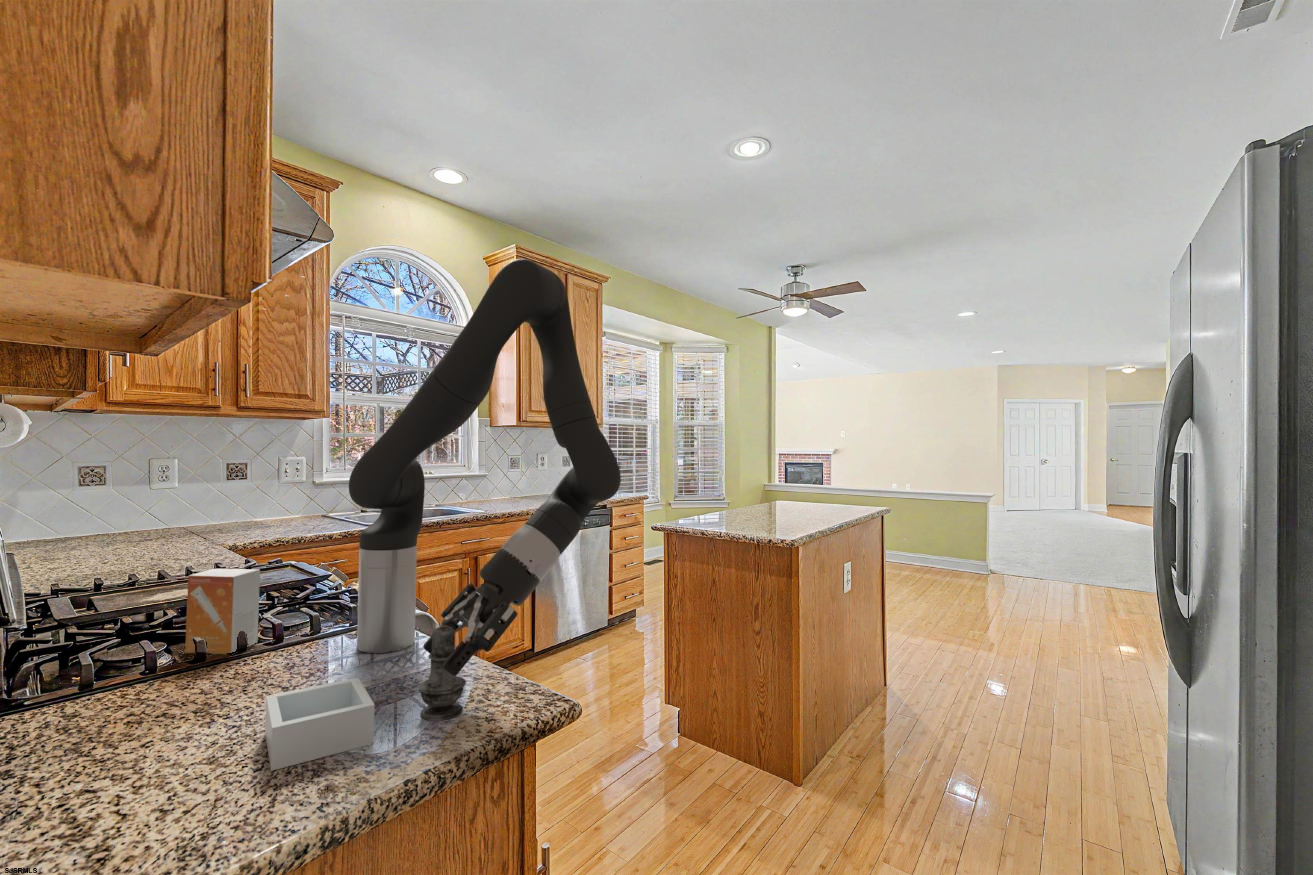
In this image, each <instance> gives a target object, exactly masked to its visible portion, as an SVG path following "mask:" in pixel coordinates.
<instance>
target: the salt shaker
mask: <svg viewBox="0 0 1313 875" xmlns="http://www.w3.org/2000/svg"><path fill="white" fill-rule="evenodd" d="M442 620H443V619H442ZM442 620H441V622H440V624H441V625H442V626H441V625H440V626H439V627H436V628H435V629H434V630H433V631H432V633H431V636H432V653H431V654H430V653H429V655H428V656H427V657H428V659H429V660H430V672H429V677H428V679H426V680H423V681H422V682H421V683H420V684H419V685H418V691H419V692H420V696H421V699H422V701H423V702H424V704H426V705H427V706H426V707H424V708H423V709H421V711H420V713H419V714H420V715H419V716H420V718H422V719H423V720H425V721H430V722H431V721H432V722H438V721H439V722H440V721H441V722H442V721H447V720H450V719H453V718H456V717H458V716H459V715H460V714H462V713H463V711H464V707H463V705H462V704H460V703H458V700H459V699H460V698H461V697H462V694H463V692H464V687H465V686H466V684H467V681H466V679H465V678H463V677H461V676H458V675H455V676H453V675H451V674H450V673H449V672H448V671H446V670H445V669H444V668H443V666H442V664H443V662H444V661H445V660H446V659H447V658H448V656H449V655H450V654H451V653H452V652H453V651H454V649H455V648H456V645H455V643H456V633H455V631H454V629H453V628H451V627H449V626H447V625H446V623H447V622H446V621H445V620H443V621H442Z"/></svg>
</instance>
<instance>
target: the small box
mask: <svg viewBox="0 0 1313 875" xmlns="http://www.w3.org/2000/svg"><path fill="white" fill-rule="evenodd" d="M260 575H261V569H259V568H257V569H256V568H255V569H249V568H248V569H246V568H213V569H208V570H204V571H199V572H196V573H193V574H190V575H188V576H187V577H188V579H187V596H186V598H187V601H186V602H187V603H186V622H185V623H186V624H185V649H184V650H185V651H184V652H185V653H186V654H196V653H195V644H194V642H193V637H200V638H201V639H204V640H205V641H206V642H207V647H208V651H209V653H210V655H214V654H215V655H227V654H226V653H232V652H235V651H236V649H237V637H238V634H239V632H240V631H244V632H245V633H246V634H247V638H248V644H249V645H250V646H249V647H251V645H252V646H254V645H255V643H256V644H257V643H258V639H259V637H258V636H259V613H260V612H259V610H260V609H259V604H260V582H261V581H260V578H261V576H260ZM209 653H208V654H209Z"/></svg>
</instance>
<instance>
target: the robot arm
mask: <svg viewBox="0 0 1313 875" xmlns="http://www.w3.org/2000/svg"><path fill="white" fill-rule="evenodd" d="M567 293H568V292H567V289H566V286H565V283H564V282H563V280H562V279H561V278H560V276H558V274H556V273H555V272H553V271H551V270H550V269H548V268H547V267H544V266H542V265H541V264H539V263H537V262H535V261H532V260H531V259H526V258H517V259H513V260H512V261H509V262H507V264H505V265H504V266H502V267H501V268H500V270H499V271H498V272H497V273H496V275H495V277H494V278H492V281H491V283H490V285H489V286H488V288H487V289H486V291H485V293H484V295H483V296H482V298H481V299H480V302H479V303H478V305H477V307H476V308H475V310H474V312H473V314H472V315H471V317H470V318H469V320H468V321H467V323H466V324H465V326H464V327H463V329H462V330H461V331H460V333H459V334H458V335H457V337H456V338H455V340H454V341H453V342H452V344H451V345H450V347H449V349H448V350H447V351H446V353H445V354H444V355H443V357H442V358H441V359H440V360H439V362H438V363H436V365H435V366H434V367H433V369H432V370H431V372H430V373H429V375H428V376H427V377H426V379H424V381H423V382H422V384H421V385H420V387H419V389H418V390H417V391H416V393H415V394H414V395H413V397H412V398H411V400H410V401H409V402H408V403H407V404H406V406H405V407H404V408H403V410H402V411H401V412H400V414H399V415H398V416H397V417H396V418H395V420H394V421H393V422H392V424H391V425H390V427H388V429H387V430H386V431H385V432H384V433H383V434H382V435H381V436H380V437H379V438H378V439H377V440H376V442H375V443H374V444H373V445H372V446H371V447H370V448H369V449H368V450H367V451H366V452H365V453H364V454H363V455H362V456H361V458H360V459H359V460H358V461H357V463H356V464H355V465H354V467H353V469H352V471H351V474H350V476H349V481H348V492H349V497H350V498H351V500H352V501H353V503H355V504H356V505H357V506H359V507H362V508H364V509H372V510H373V509H375V510H377V509H380V514H379V516H378V518H376V520H375V521H374V522H373V523H372V524H370V525H369V526H367V527H366V528H365V529H363V530H362V531H361V532H360V534H359V545H358V546H359V547H358V549H359V550H358V586H357V588H358V590H357V594H358V595H357V625H356V626H357V627H356V649H357V650H358V651H360V652H362V653H367V654H368V653H369V654H382V653H384V654H385V653H391V652H390V651H392V652H396V650H397V651H399V649H400V650H404V649H407V648H409V647H410V645H411V646H413V645H414V644H415V638H416V637H415V636H416V610H417V609H416V606H417V605H416V600H417V597H416V596H417V564H418V563H417V561H418V560H417V558H418V557H417V554H418V553H417V550H418V545H417V544H418V536H419V534H420V531H421V528H422V525H423V515H424V504H425V502H424V501H425V490H426V488H425V487H426V486H425V484H426V483H425V482H426V481H425V480H426V479H425V473H424V471H423V468H422V465H421V464H420V462H419V461H418V460H417V458H418V457H419V456H420V455H421V454H422V453H423V452H425V451H426V450H427V449H429V448H431V447H432V446H433V445H435V444H437V443H438V442H440V441H442V440H443V439H445V438H446V437H448V436H449V435H450V434H452V433H454V432H455V431H456V430H458V429H459V428H460V427H462V426H463V425H464V424H465V423H466V422H467V421H468V420H469V419H470V417H472V415H473V414H474V412H475V411H476V410H477V409H478V407H479V406H480V405H481V403H482V402H483V401H484V399H485V398H486V396H488V393H489V392H490V389H491V387H492V384H493V380H494V376H495V369H496V365H497V362H498V359H499V356H500V354H501V352H502V351H503V348H504V346H505V345H506V344H507V342H508V341H509V340H510V339H511V337H512V336H513V335H514V333H515V332H516V331H517V330H518V329H519V328H520V327H521V326H522V325H523V324H524V323H527V324H529V326H530V328H531V330H532V332H533V334H534V336H535V338H536V340H537V343H538V346H539V350H540V354H541V360H542V392H543V399H544V404H545V410H546V412H547V416H548V420H549V422H550V426H551V428H552V432H553V435H554V438H555V440H556V442H557V444H558V445H559V446H560V447H561V448H563V449H565V450H566V452H567V454H568V457H569V459H570V462H571V464H572V466H573V467H571V469H570V470H569V471H568V472H567V473H566V474H565V475H564V477H563V478H562V479H561V480H560V482H558V484H557V485H556V487H555V488H554V490H552V492H551V494H550V495H549V497H548V498H547V499H546V500H545V501H544V502H543V504H540V506H539V507H538V508H537V509H536V510H535V512H534V513H532V515H531V516H530V517H529V518H528V519H527V521H525V523H524V524H523V525H522V526H521V527H519V529H517V530H516V531H514V533H513V534H512V535H511V536H510V537H509V538H508V539H507V540H506V541H505V543H504V544H502V545H501V546H500V548H499V549H498V550H497V551H496V552H495V553H494V554H493V555H492V557H491V558H490V559H489V560H488V561H487V563H486V564H484V565H483V567H482V568H481V569H480V571H479V576H480V577H481V579H483V583H482V584H481V585H480V586H479V587H476V586H475V585H474V583H472V582H469V584H467V585H466V586H465V587H464V589H462V591H461V592H459V593H458V595H457V596H456V597H455V598H454V599H453V600H452V601H451V603H450V604H448V605H447V607H446V608H445V609H444V610H443V611H442V612H441V614H440V616H441V617H442V620H441V622H442V621H443V620H445V621H446V622H447V623H446V625H447V626H449V627H451V628H453V629H454V631H455V634H456V633H458V632H459V631H461V630H462V629H464V628H465V627H466V628H468V630H467V632H466V634H465V636H464V638H463V640H461V641H460V642H459V643H458V645H457V646H455V649H454V651H453V652H452V653H451V654H450V655H449V656H448V658H447V659H446V660H445V661H444V662H443V664H442V666H443V668H444V669H445V670H446V671H448V672H449V673H450V674H451V675H453V676H455V675H456V676H458V674H459V673H460V672H461V670H462V669H464V667H465V665H466V664H467V663H468V662H469V661H470V659H472V657H473V656H474V655H475V654H476V652H477V653H480V652H481V651H482V650H483V651H484V652H486V653H488V652H490V651H491V650H492V648H493V647H494V645H496V643H497V642H498V640H499V639H500V638H501V637H502V635H503V634H504V633H505V632H506V631H507V629H508V628H509V627H510V625H511V624H512V623H513V622H514V620H515V619H516V618H517V617H518V614H519V613H518V612H517V610H515V609H514V607H512V606H511V604H512V605H513V606H515V607H520V606H522V605H523V604H524V603H525V602H526V600H527V599H528V598H529V597H530V595H531V594H532V593H533V592H534V591H535V589H536V588H537V587H538V586H539V584H540V583H541V582H542V581H543V580H544V578H545V577H546V576H547V575H548V573H549V572H550V571H552V569H553V567H554V565H555V564H556V562H557V560H559V558H560V557H561V555H562V554H563V553H564V551H565V550H566V549H567V548H568V547H569V546H570V545H571V543H572V542H574V539H575V538H576V537H577V536H578V534H579V532H580V530H581V528H582V523H583V522H584V520H585V519H586V518H587V517H588V515H590V513H591V512H592V511H593V509H594V508H595V507H596V506H597V505H598V504H600V503H602V502H604V501H607V500H610V499H611V498H613V497H614V496H615V495H616V493H618V491H619V488H620V485H621V480H622V479H621V478H622V477H621V470H620V467H619V463H618V461H617V458H616V455H615V453H614V452H613V450H612V448H611V446H610V445H609V442H608V441H607V439H606V437H605V436H604V434H603V432H602V431H601V429H600V427H599V424H598V420H597V417H596V414H595V410H594V406H593V404H592V401H591V398H590V395H589V392H588V388H587V386H586V383H585V380H584V376H583V375H584V374H583V372H582V368H581V364H580V361H579V356H578V351H577V350H578V349H577V346H576V341H575V335H574V330H573V324H572V317H571V309H570V303H569V298H568V297H569V296H568V294H567ZM440 626H442V624H441V625H440ZM489 637H490V638H489ZM408 646H409V647H408ZM403 648H404V649H403ZM423 649H424V650H425V651H426V652H428V653H429V655H430V654H431V653H432V635H431V636H430V637H429V638H428V639H427V640H426V642H424V643H423Z"/></svg>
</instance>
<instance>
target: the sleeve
mask: <svg viewBox="0 0 1313 875" xmlns="http://www.w3.org/2000/svg"><path fill="white" fill-rule="evenodd" d="M265 698H266V699H265V720H264V721H265V723H264V724H265V728H264V730H265V732H264V735H265V736H264V737H265V742H266V749H267V754H268V761H269V767H270V771H271V772H273V771H275V770H276V771H277V770H281V769H283V768H287V767H291V766H294V765H298V764H302V763H303V764H304V763H306V762H309V761H314V760H318V759H320V758H324V757H328V756H332V755H337V754H340V753H344V752H347V751H352V750H355V749H358V748H359V749H360V748H362V747H363V748H364V747H367V746H370V745H374V744H375V742H374V738H375V735H374V734H375V703H374V700H372V698H371V696H370V695H369V693H368V692H367V690H366V688H365V686H364V685H363V683H362V682H361V680H360V678H359V677H354V678H349V679H345V680H340V681H334V682H329V683H325V684H321V685H314V686H309V687H304V688H300V689H296V690H295V689H294V690H290V691H285V692H279V693H275V694H270V695H266V696H265Z"/></svg>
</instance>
